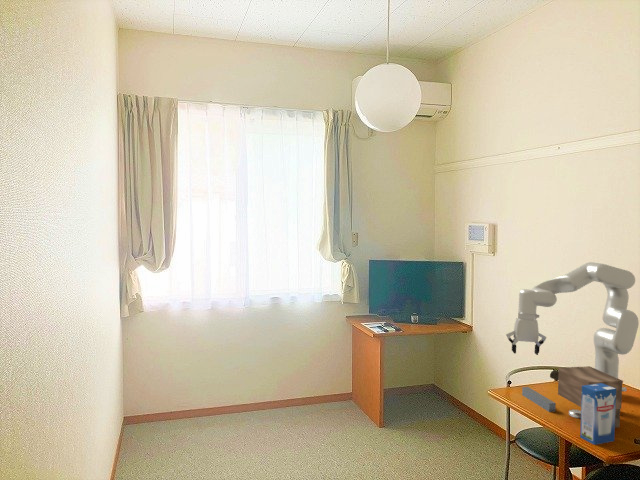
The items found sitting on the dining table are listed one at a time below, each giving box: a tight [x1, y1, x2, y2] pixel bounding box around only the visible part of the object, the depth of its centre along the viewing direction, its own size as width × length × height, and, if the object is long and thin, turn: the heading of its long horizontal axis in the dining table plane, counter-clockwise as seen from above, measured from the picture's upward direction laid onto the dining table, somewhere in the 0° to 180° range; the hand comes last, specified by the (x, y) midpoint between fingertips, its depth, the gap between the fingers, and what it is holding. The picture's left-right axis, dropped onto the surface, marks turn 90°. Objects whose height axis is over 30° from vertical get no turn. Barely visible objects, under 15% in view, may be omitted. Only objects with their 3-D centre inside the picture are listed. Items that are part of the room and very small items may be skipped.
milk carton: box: [579, 383, 616, 446], centre depth 181 cm, size 10×6×20 cm, turn 108°
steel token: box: [568, 409, 581, 419], centre depth 203 cm, size 6×6×2 cm
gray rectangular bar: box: [521, 386, 557, 413], centre depth 217 cm, size 3×20×4 cm, turn 9°
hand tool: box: [549, 369, 559, 381], centre depth 245 cm, size 19×4×5 cm, turn 48°
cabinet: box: [557, 366, 624, 429], centre depth 199 cm, size 15×19×19 cm
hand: (525, 353), depth 221 cm, fingers open, 9 cm apart
